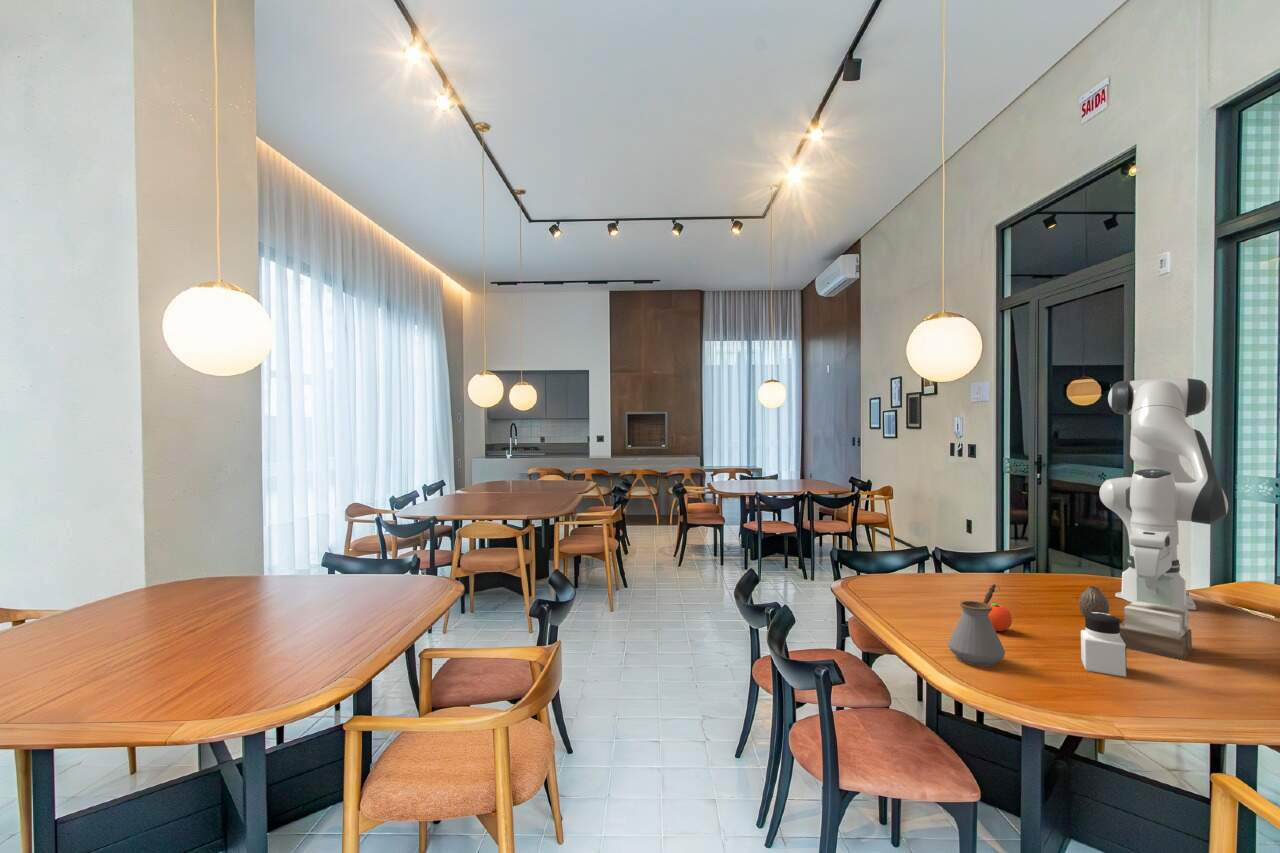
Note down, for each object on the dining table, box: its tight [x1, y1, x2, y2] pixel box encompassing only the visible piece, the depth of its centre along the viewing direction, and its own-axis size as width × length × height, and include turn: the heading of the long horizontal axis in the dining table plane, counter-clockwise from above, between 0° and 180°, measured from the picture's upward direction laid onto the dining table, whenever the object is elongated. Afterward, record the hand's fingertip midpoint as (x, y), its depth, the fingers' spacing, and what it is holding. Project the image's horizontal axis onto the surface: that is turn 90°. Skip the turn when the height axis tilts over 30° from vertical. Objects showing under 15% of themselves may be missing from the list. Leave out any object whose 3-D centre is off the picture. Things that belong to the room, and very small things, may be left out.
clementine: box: [988, 603, 1013, 632], centre depth 153 cm, size 8×7×7 cm
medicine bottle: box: [1080, 612, 1128, 678], centre depth 127 cm, size 7×7×12 cm
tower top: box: [1123, 601, 1189, 639], centre depth 140 cm, size 10×10×5 cm
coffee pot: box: [947, 583, 1006, 667], centre depth 136 cm, size 21×12×15 cm, turn 133°
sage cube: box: [1136, 575, 1174, 606], centre depth 140 cm, size 6×6×6 cm
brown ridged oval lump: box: [1078, 585, 1110, 617], centre depth 163 cm, size 7×7×9 cm
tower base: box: [1120, 620, 1193, 662], centre depth 140 cm, size 12×12×5 cm
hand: (1155, 591), depth 140 cm, fingers closed on sage cube, 6 cm apart
